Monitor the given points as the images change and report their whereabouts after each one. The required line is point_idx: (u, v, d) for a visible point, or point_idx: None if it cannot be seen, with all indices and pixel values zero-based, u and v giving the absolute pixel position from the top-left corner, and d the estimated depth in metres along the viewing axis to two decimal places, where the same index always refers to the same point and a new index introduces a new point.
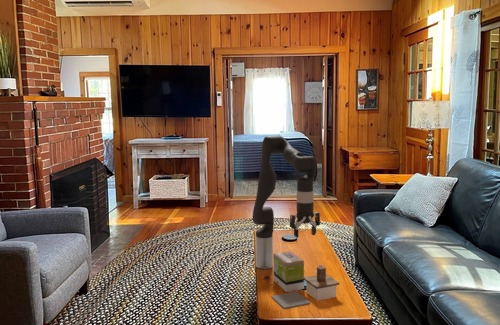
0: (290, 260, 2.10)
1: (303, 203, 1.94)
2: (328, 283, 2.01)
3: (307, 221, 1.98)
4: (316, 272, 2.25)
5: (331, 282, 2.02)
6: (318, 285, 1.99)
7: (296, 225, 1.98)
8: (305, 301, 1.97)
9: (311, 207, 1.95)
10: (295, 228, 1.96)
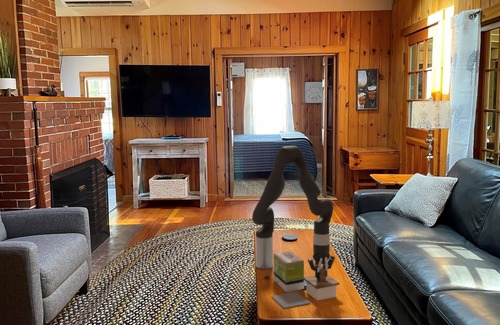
0: (290, 260, 2.10)
1: (320, 245, 1.99)
2: (328, 283, 2.01)
3: (323, 262, 2.03)
4: None
5: (331, 282, 2.02)
6: (318, 285, 1.99)
7: None
8: (305, 301, 1.97)
9: (327, 249, 2.00)
10: (317, 270, 2.02)
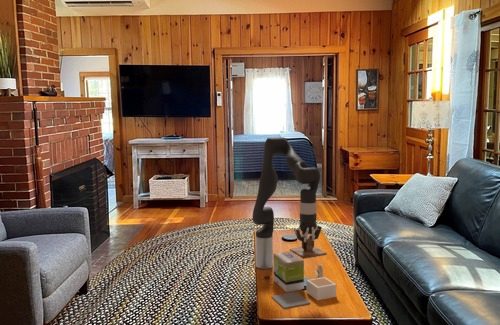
0: (290, 260, 2.10)
1: (306, 214, 1.95)
2: (315, 253, 1.97)
3: (310, 232, 1.99)
4: (315, 272, 2.25)
5: (318, 252, 1.98)
6: (305, 255, 1.94)
7: (303, 237, 2.00)
8: (305, 301, 1.97)
9: (314, 218, 1.96)
10: (303, 241, 1.98)
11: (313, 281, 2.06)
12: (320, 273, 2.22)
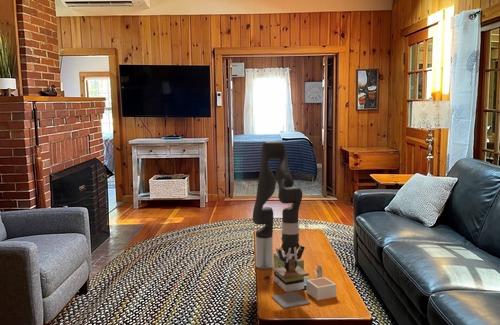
0: None
1: (288, 234, 1.93)
2: (297, 274, 1.94)
3: (292, 252, 1.96)
4: (315, 272, 2.25)
5: (300, 273, 1.95)
6: (286, 276, 1.92)
7: None
8: (305, 301, 1.97)
9: (296, 238, 1.94)
10: (285, 261, 1.96)
11: (313, 281, 2.06)
12: (319, 273, 2.22)
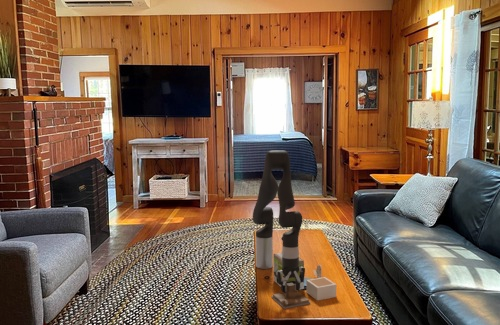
0: None
1: (288, 259, 1.94)
2: (297, 300, 1.95)
3: (292, 275, 1.98)
4: (314, 272, 2.25)
5: (300, 299, 1.97)
6: (286, 303, 1.93)
7: (283, 280, 1.98)
8: None
9: (296, 262, 1.95)
10: (282, 284, 1.96)
11: (313, 281, 2.06)
12: (319, 273, 2.22)
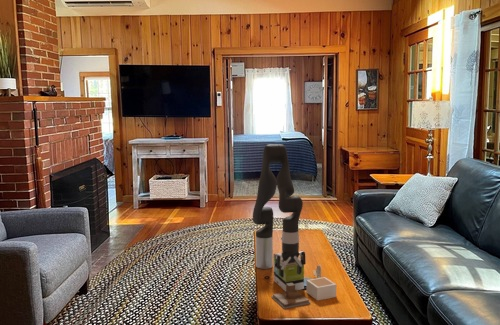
0: None
1: (288, 244, 1.93)
2: (297, 300, 1.95)
3: (292, 261, 1.97)
4: (314, 272, 2.25)
5: (300, 299, 1.97)
6: (286, 303, 1.93)
7: (281, 265, 1.97)
8: None
9: (296, 247, 1.94)
10: (280, 268, 1.95)
11: (313, 281, 2.06)
12: (318, 273, 2.22)
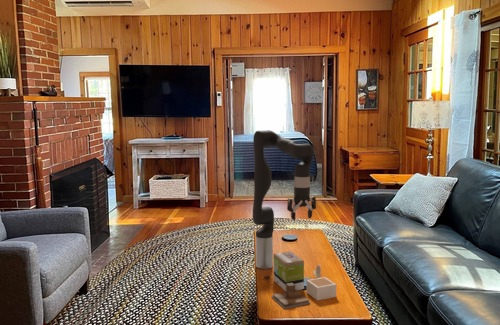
0: (290, 260, 2.10)
1: (300, 188, 2.07)
2: (297, 300, 1.95)
3: (304, 205, 2.11)
4: (314, 272, 2.25)
5: (300, 299, 1.97)
6: (286, 303, 1.93)
7: (293, 208, 2.11)
8: None
9: (307, 191, 2.08)
10: (292, 211, 2.09)
11: (313, 281, 2.06)
12: (318, 273, 2.22)
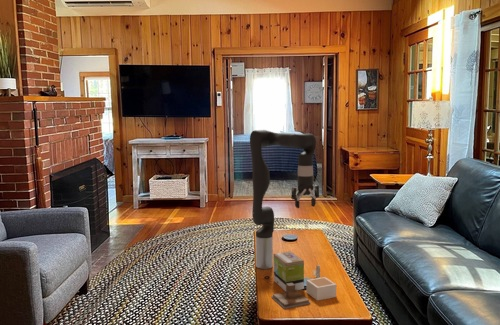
0: (290, 260, 2.10)
1: (304, 176, 2.12)
2: (297, 300, 1.95)
3: (307, 193, 2.16)
4: (313, 272, 2.25)
5: (300, 299, 1.97)
6: (286, 303, 1.93)
7: (297, 197, 2.16)
8: None
9: (311, 180, 2.13)
10: (296, 199, 2.14)
11: (313, 281, 2.06)
12: (317, 273, 2.22)
